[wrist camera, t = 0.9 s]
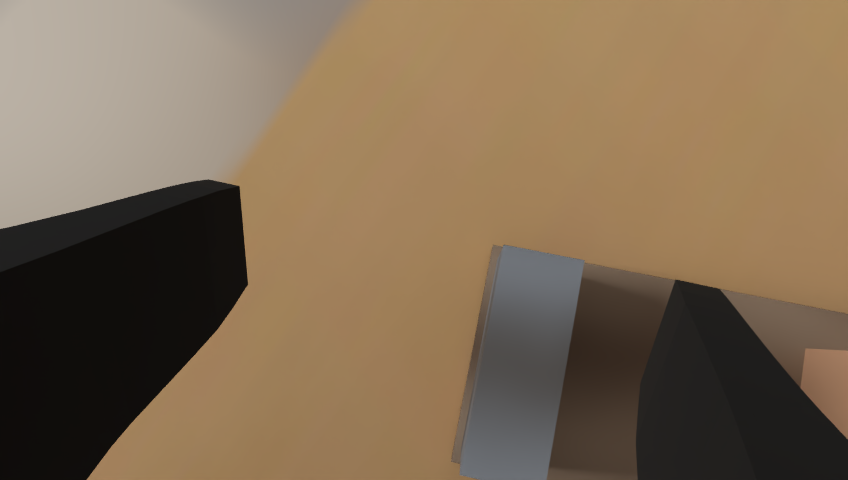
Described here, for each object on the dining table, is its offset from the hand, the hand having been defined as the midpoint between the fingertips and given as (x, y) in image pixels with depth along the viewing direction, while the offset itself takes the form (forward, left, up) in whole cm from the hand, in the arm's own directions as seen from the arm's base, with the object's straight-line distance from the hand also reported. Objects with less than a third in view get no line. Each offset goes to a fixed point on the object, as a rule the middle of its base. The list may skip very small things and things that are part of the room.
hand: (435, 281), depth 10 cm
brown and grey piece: (-1, -10, -14) cm, 17 cm away
